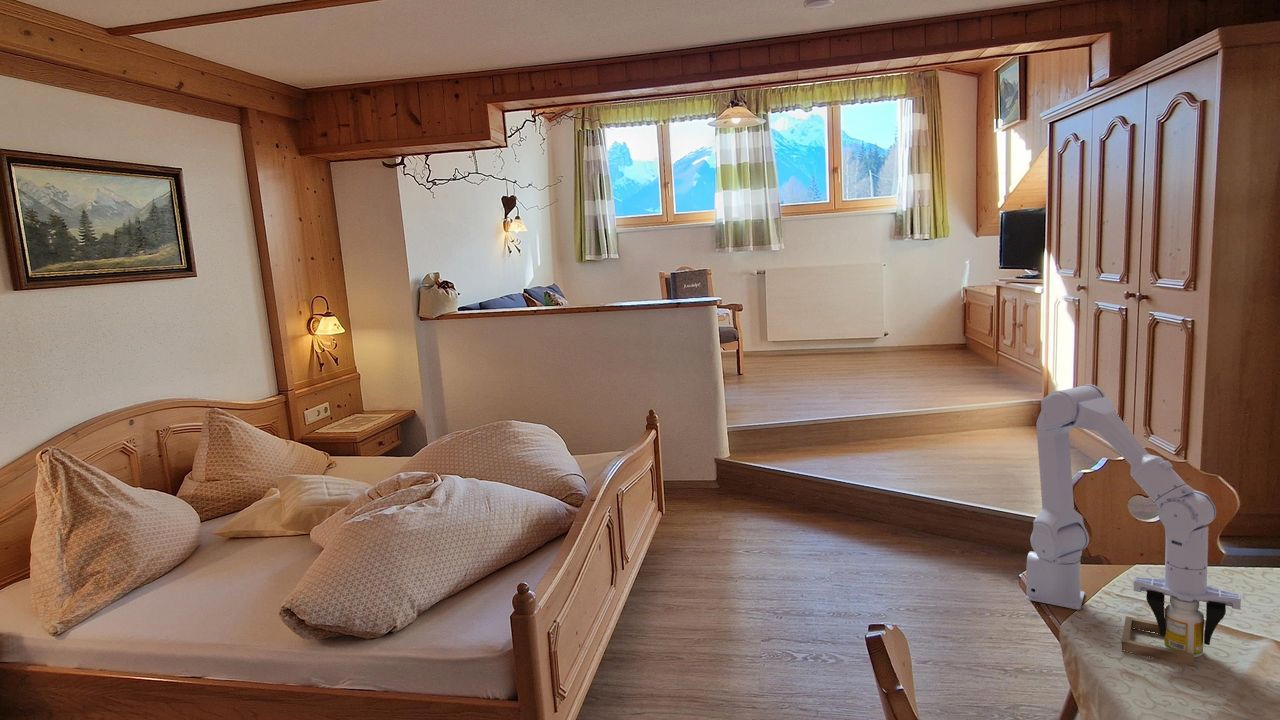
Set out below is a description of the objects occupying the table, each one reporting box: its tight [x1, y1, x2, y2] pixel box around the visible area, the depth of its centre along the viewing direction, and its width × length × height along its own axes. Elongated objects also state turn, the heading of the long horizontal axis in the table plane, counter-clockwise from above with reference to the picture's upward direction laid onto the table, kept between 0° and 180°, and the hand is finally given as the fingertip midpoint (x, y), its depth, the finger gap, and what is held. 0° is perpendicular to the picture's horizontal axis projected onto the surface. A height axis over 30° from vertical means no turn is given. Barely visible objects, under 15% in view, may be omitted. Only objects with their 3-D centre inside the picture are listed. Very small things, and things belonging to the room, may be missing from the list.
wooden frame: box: [1121, 615, 1195, 667], centre depth 126 cm, size 10×10×2 cm
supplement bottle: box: [1163, 596, 1205, 658], centre depth 123 cm, size 5×5×10 cm
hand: (1184, 637), depth 124 cm, fingers open, 5 cm apart
